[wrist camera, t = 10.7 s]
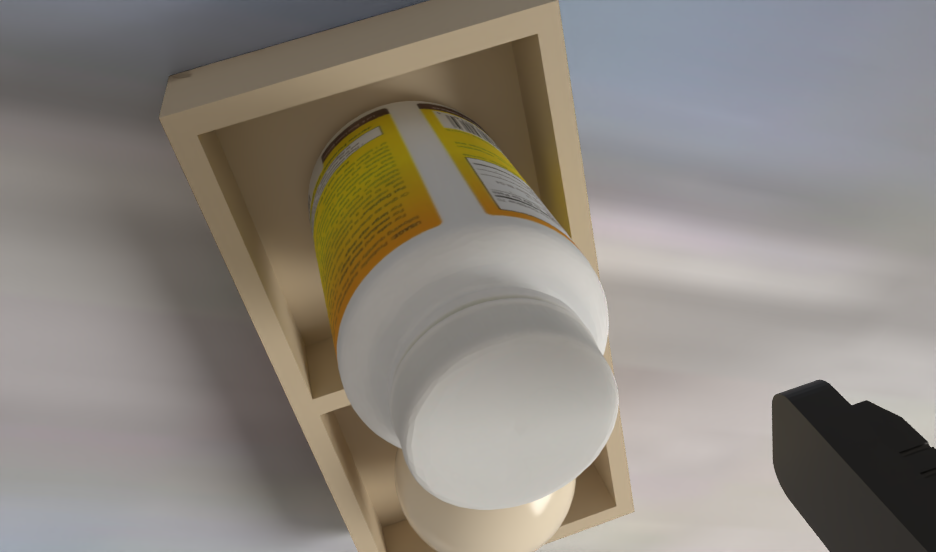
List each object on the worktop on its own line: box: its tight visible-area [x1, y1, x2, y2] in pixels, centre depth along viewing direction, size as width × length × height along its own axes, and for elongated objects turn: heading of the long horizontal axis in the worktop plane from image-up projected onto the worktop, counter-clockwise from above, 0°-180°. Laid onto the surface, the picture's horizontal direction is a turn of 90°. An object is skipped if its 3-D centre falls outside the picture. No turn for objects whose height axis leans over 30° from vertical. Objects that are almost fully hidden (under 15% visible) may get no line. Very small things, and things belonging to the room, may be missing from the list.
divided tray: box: [159, 0, 634, 552], centre depth 24 cm, size 9×18×3 cm, turn 13°
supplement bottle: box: [308, 101, 619, 510], centre depth 18 cm, size 6×6×10 cm
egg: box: [394, 448, 576, 552], centre depth 24 cm, size 6×6×6 cm
